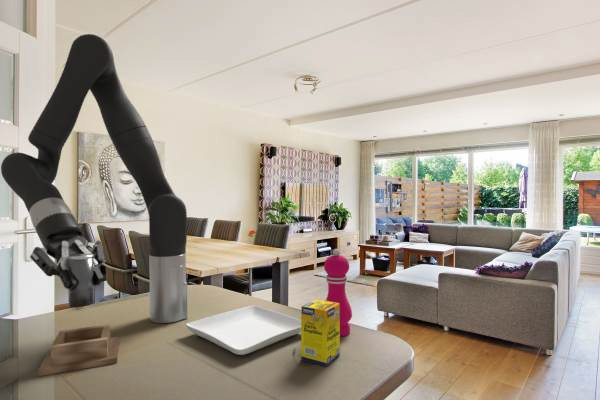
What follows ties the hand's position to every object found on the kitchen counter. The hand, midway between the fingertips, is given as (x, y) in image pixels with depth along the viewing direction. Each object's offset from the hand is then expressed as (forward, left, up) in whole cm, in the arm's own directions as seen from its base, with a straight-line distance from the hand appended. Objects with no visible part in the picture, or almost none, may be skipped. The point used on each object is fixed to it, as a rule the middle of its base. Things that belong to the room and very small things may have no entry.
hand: (86, 285), depth 75 cm
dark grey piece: (+1, -2, -4) cm, 5 cm away
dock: (+1, -1, -15) cm, 15 cm away
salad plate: (-33, +2, -16) cm, 37 cm away
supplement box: (-43, +20, -15) cm, 50 cm away
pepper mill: (-53, +9, -15) cm, 56 cm away
